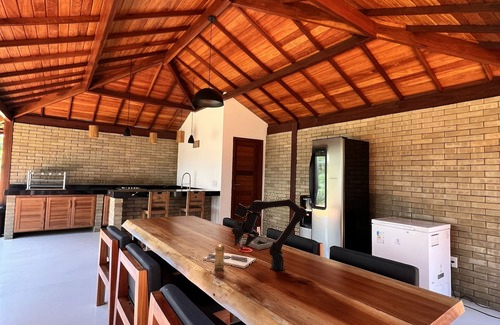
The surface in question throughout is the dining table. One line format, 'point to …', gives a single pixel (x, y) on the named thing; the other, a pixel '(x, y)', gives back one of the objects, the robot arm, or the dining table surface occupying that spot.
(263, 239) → the metal bracket
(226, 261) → the plate
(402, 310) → the dining table surface
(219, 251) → the tan gold domed cylinder
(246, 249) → the tow hook
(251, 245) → the parts tray
